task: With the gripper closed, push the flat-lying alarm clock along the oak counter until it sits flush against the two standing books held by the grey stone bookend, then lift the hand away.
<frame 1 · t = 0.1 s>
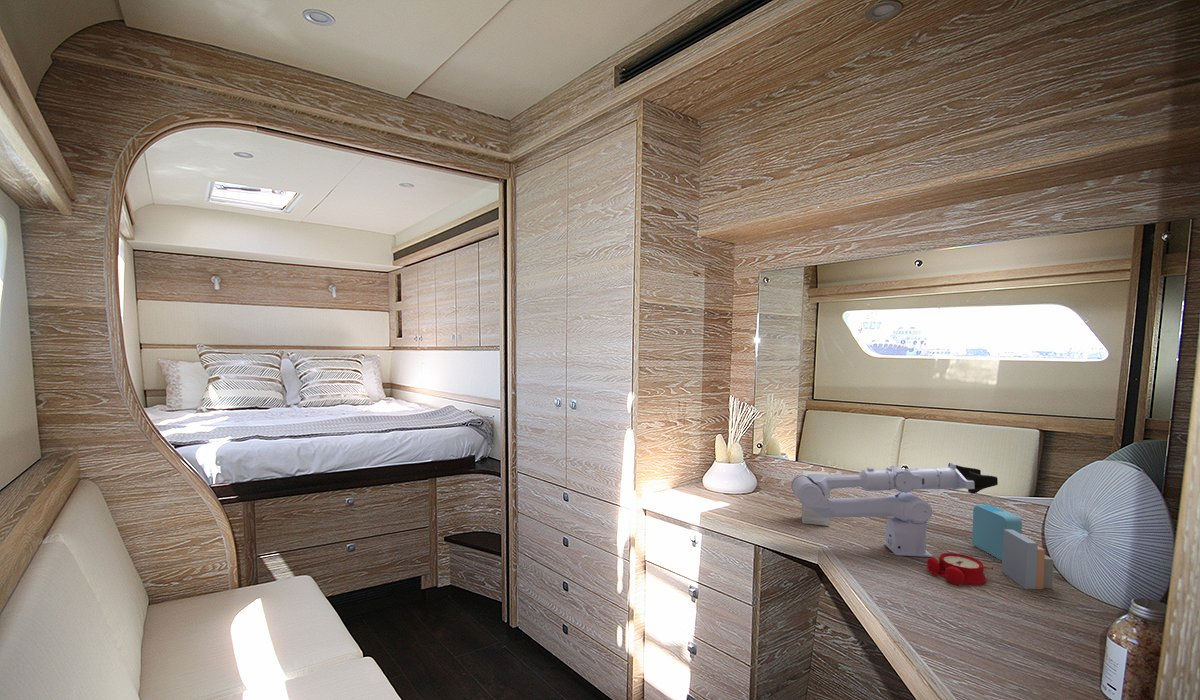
hand: (988, 477, 148), 22 cm above the table, tool horizontal, fingers open, 7 cm apart
alarm clock: (955, 578, 136), on the table
book row: (1026, 580, 134), on the table
skincare box: (814, 522, 173), on the table
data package: (994, 554, 150), on the table
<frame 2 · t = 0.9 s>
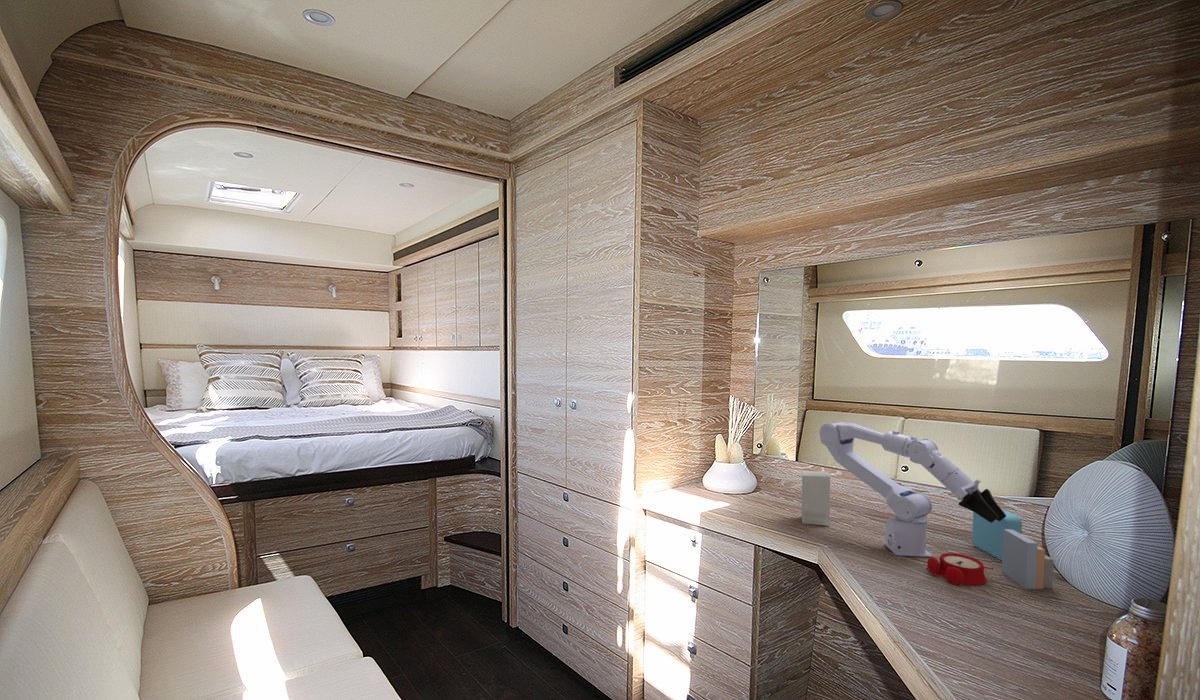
hand: (999, 519, 133), 15 cm above the table, tool tilted 55°, fingers open, 7 cm apart
nothing on the table moved.
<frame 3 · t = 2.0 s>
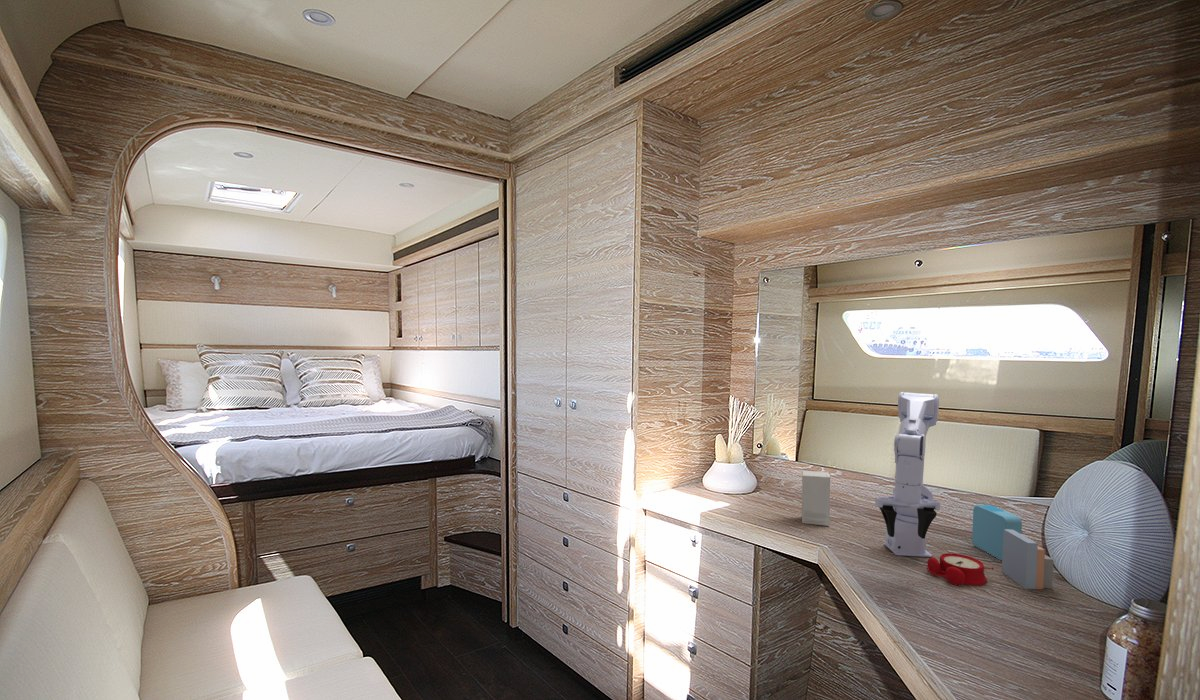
hand: (906, 536, 136), 9 cm above the table, tool pointing down, fingers open, 7 cm apart
nothing on the table moved.
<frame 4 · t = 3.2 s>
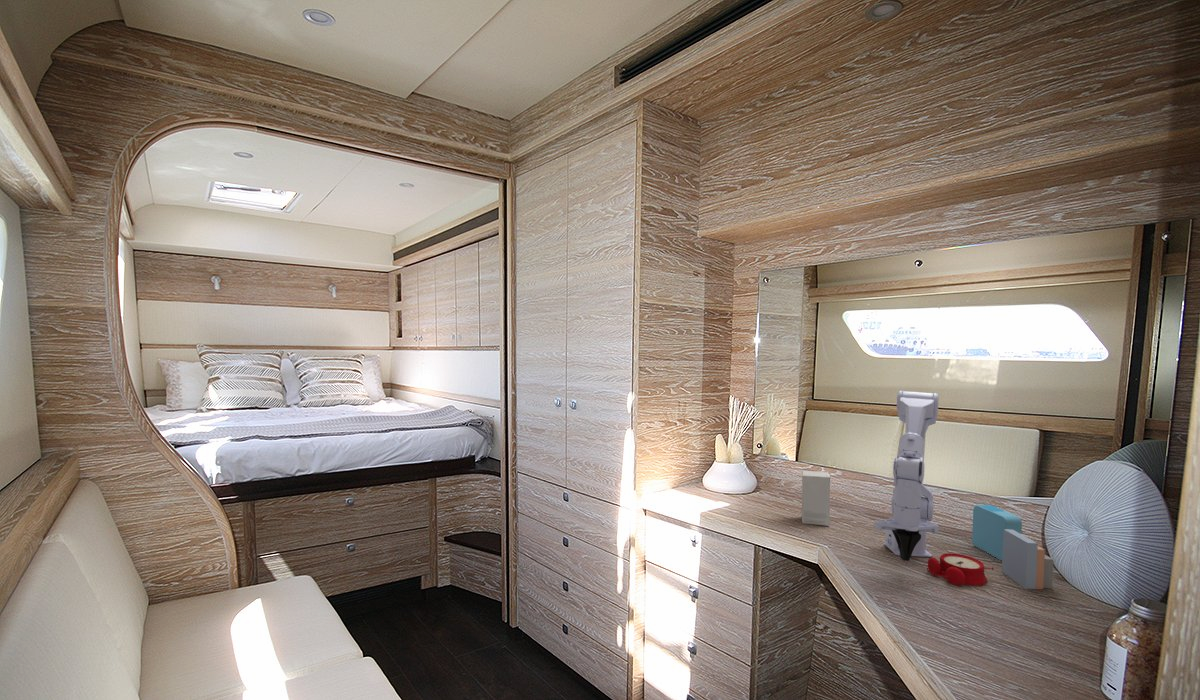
hand: (905, 559, 137), 4 cm above the table, tool pointing down, fingers closed
nothing on the table moved.
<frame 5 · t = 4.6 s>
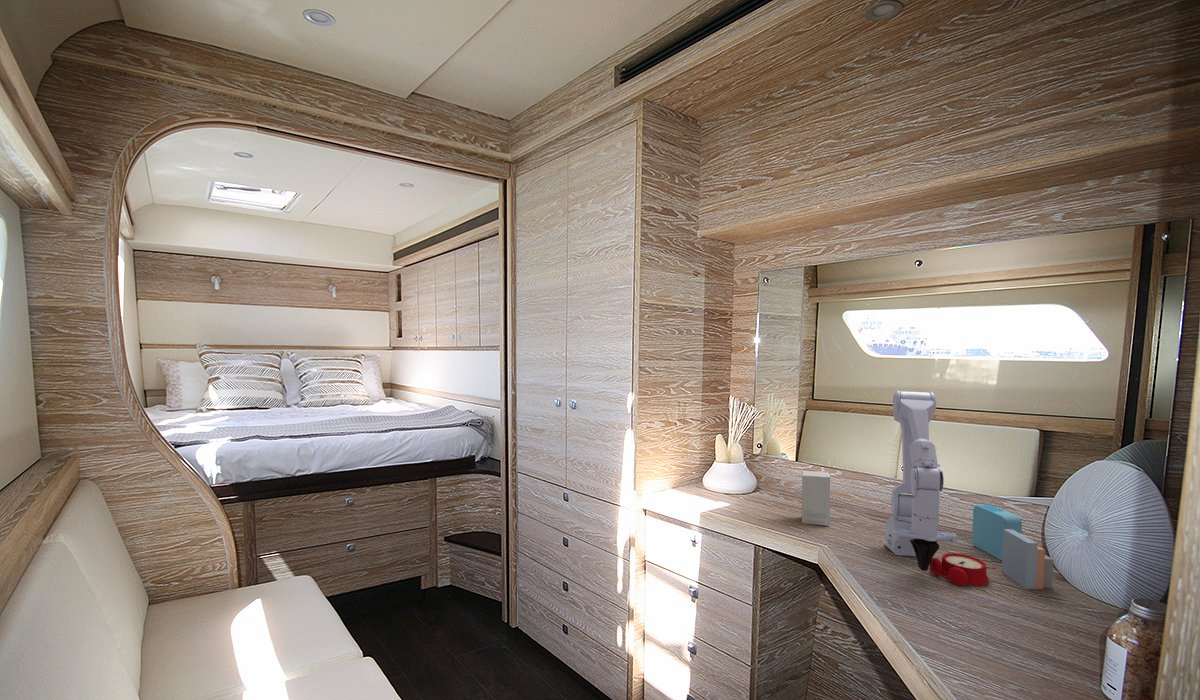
hand: (922, 568, 136), 1 cm above the table, tool pointing down, fingers closed
alarm clock: (958, 578, 135), on the table, touching gripper
everything else where it was.
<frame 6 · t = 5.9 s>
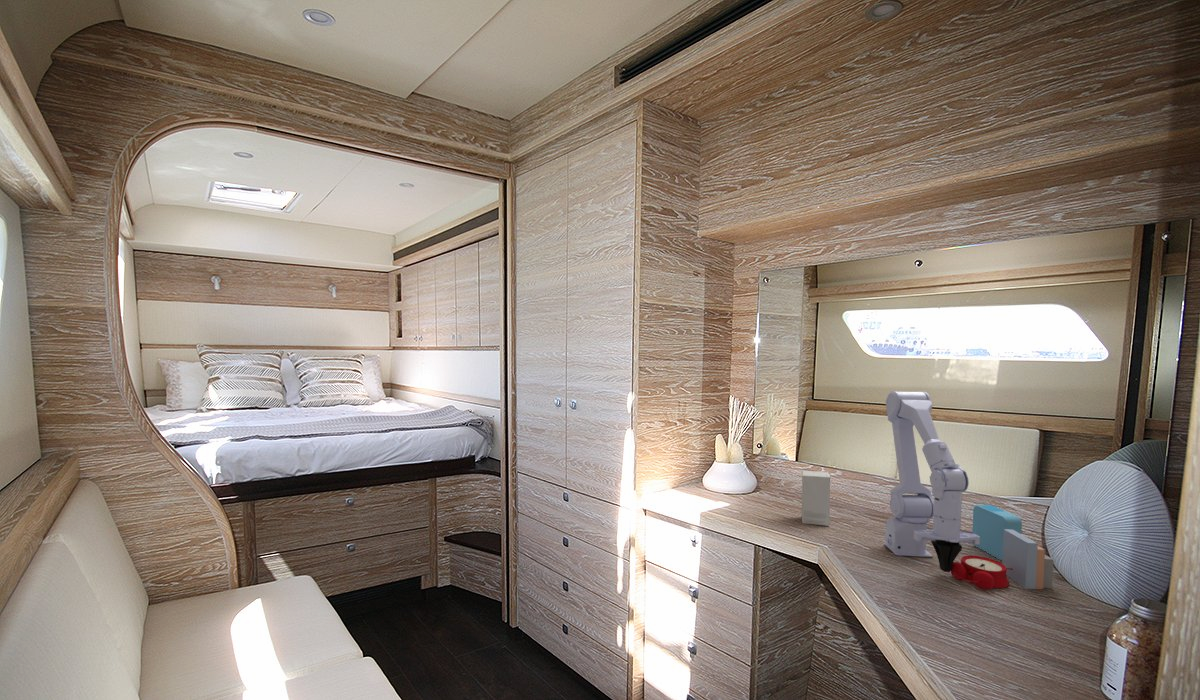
hand: (944, 570, 136), 1 cm above the table, tool pointing down, fingers closed
alarm clock: (978, 581, 134), on the table
everything else where it was.
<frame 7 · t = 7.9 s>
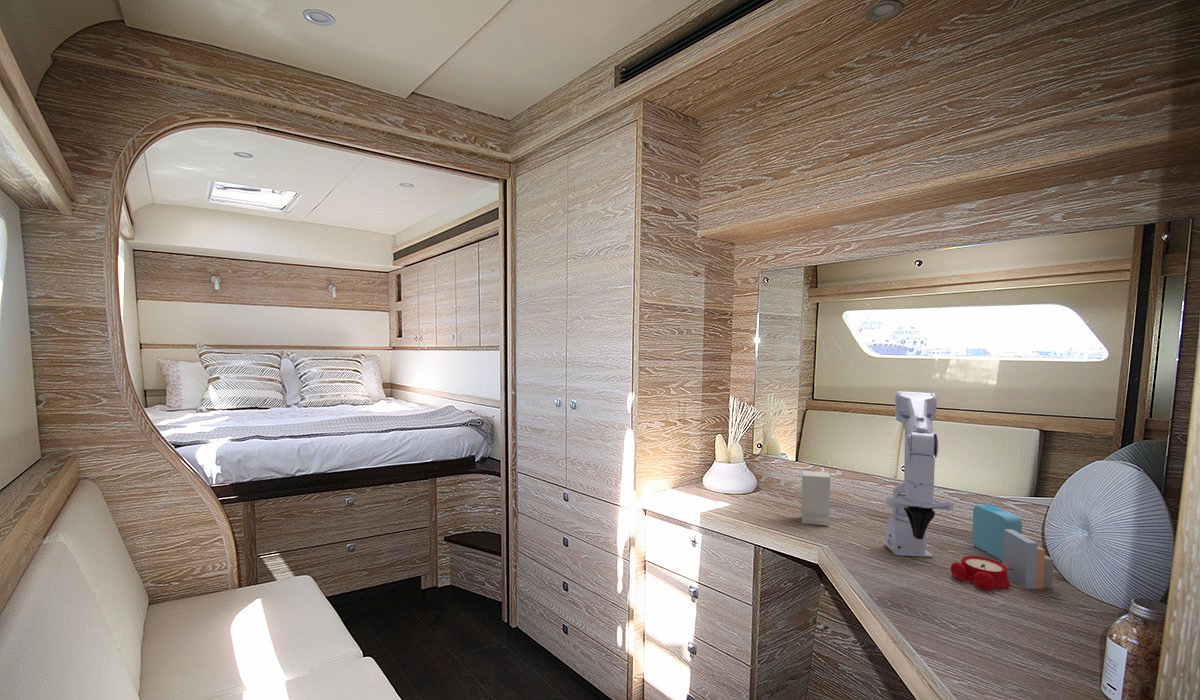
hand: (917, 537, 132), 11 cm above the table, tool pointing down, fingers closed
nothing on the table moved.
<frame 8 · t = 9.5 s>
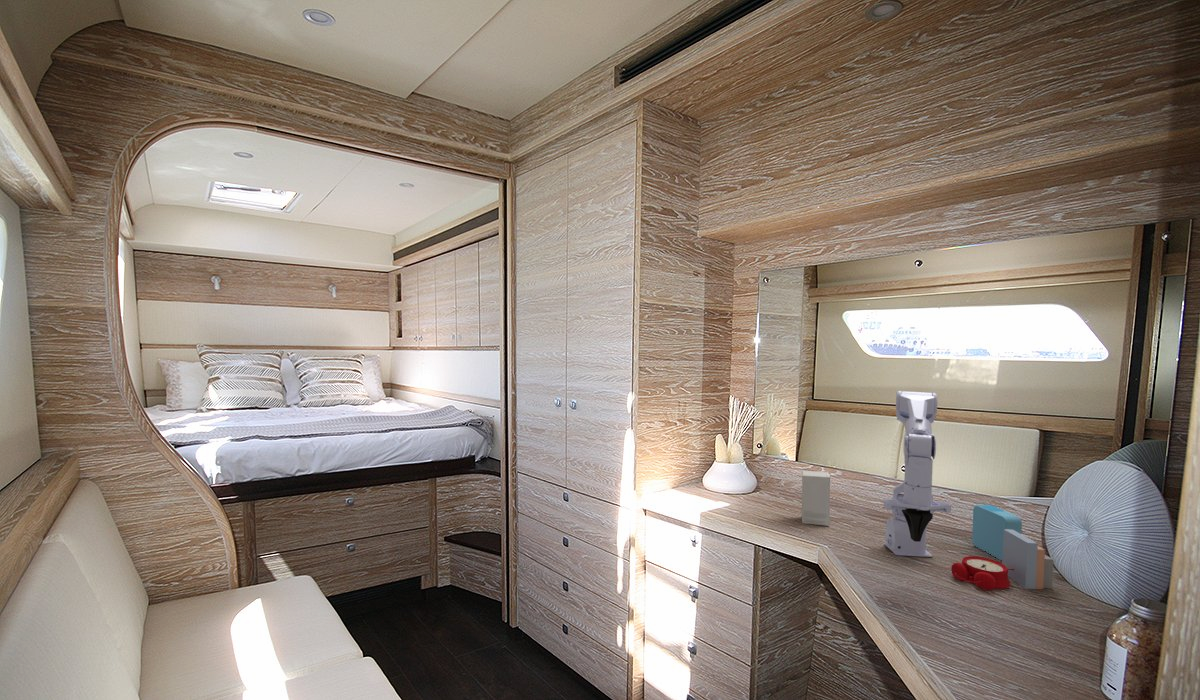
hand: (915, 540, 131), 10 cm above the table, tool pointing down, fingers closed
nothing on the table moved.
at the end: alarm clock 1.8 cm from the target spot, on the table; alarm clock moved 5.2 cm from its start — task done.
